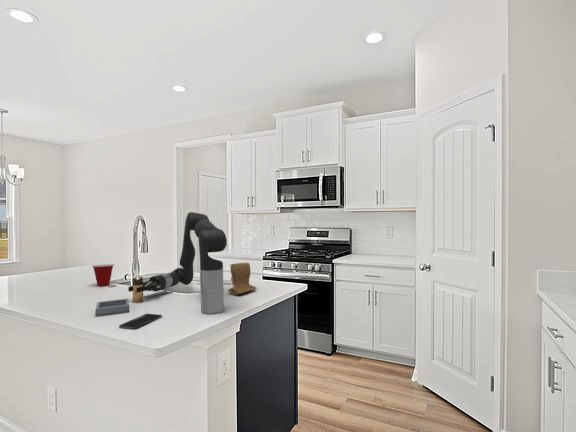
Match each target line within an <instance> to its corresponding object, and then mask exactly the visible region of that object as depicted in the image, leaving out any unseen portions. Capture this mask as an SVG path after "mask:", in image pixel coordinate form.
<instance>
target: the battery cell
mask: <svg viewBox="0 0 576 432" xmlns="http://www.w3.org/2000/svg"><path fill="white" fill-rule="evenodd" d="M131 280H132V285H131V286H133V291H132V302H133V304H136V303H137V304H138V303H144V291H142V292H137V287H141V286H143V282H144V277H143V276H140V275H136V276H133V277H132V279H131Z"/></svg>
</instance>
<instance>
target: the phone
mask: <svg viewBox="0 0 576 432" xmlns="http://www.w3.org/2000/svg"><path fill="white" fill-rule="evenodd" d="M162 318H163V315H162V314H156V313H155V314H154V313H145V314H142V315H140V316H138V317H136V318H133V319H130V320H129V321H126V322H124V323H121V324H120V325H119V327H118V328H119V329H122V330H124V329H125V330H132V331H133V330H139V329H141V328H143V327H146V326H147V325H149V324H152V323H154V322H156V321H158V320H160V319H162Z"/></svg>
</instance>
